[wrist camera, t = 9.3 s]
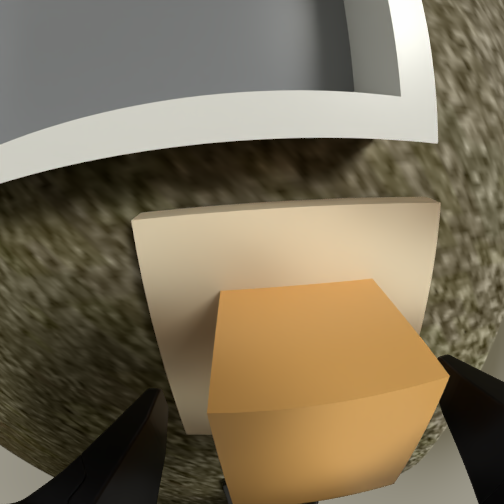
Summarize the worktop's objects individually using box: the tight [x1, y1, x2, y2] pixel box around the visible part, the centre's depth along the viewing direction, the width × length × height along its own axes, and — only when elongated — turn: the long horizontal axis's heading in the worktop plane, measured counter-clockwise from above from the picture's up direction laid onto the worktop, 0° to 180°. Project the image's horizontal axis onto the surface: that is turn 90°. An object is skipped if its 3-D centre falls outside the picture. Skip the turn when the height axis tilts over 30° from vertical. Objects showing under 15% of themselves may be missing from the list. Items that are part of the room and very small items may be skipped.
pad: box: [131, 197, 441, 435], centre depth 11 cm, size 10×10×1 cm
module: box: [207, 279, 450, 504], centre depth 8 cm, size 5×5×5 cm
